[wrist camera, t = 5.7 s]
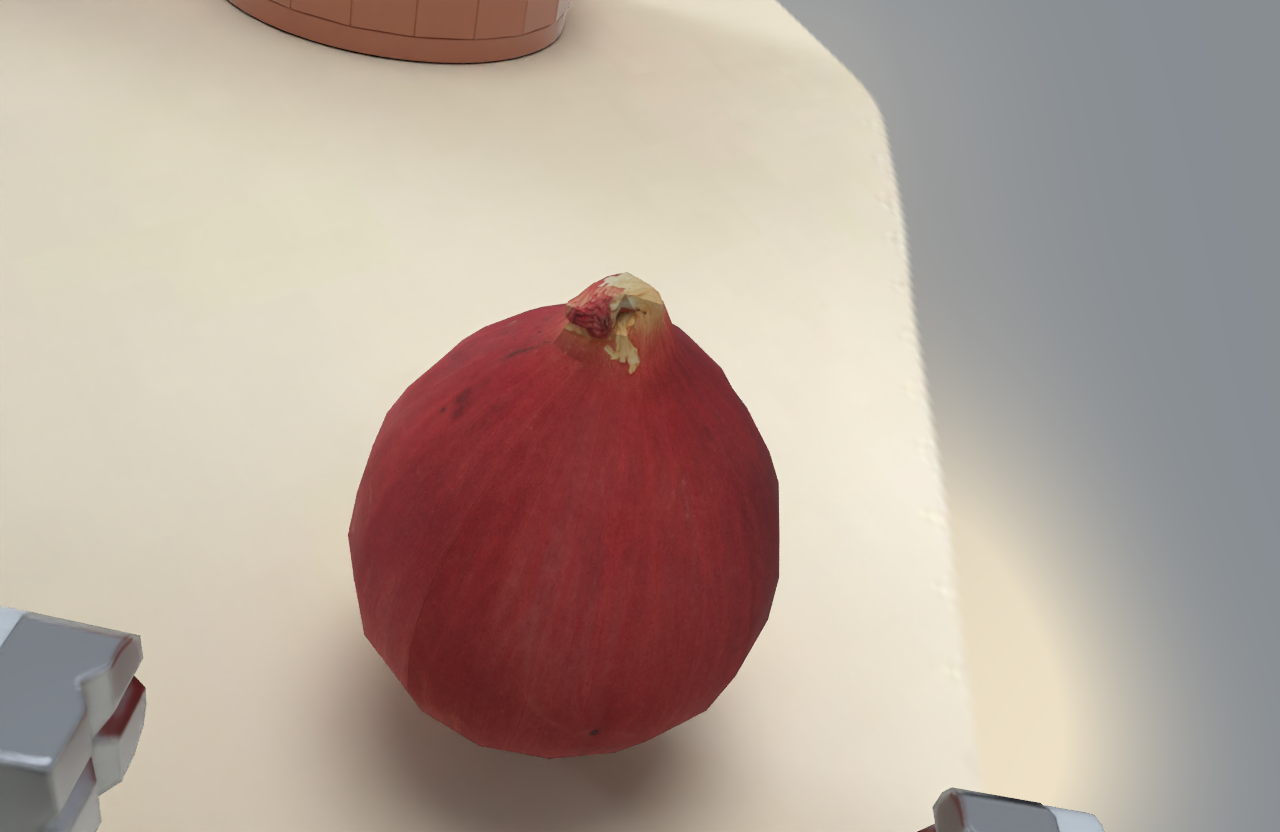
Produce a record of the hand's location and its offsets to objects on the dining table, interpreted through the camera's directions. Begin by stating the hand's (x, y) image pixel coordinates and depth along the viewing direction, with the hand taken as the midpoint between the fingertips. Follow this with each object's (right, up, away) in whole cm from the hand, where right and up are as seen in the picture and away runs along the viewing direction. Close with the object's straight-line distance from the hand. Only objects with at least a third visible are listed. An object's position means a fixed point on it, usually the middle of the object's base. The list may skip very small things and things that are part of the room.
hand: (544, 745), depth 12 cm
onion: (-1, -1, +7) cm, 7 cm away
